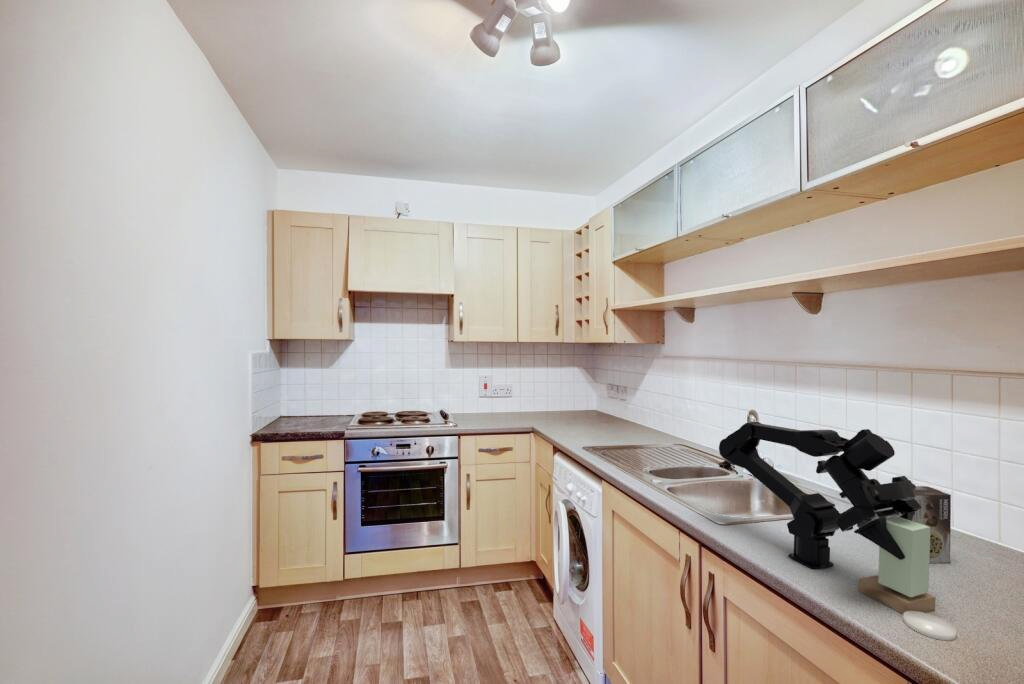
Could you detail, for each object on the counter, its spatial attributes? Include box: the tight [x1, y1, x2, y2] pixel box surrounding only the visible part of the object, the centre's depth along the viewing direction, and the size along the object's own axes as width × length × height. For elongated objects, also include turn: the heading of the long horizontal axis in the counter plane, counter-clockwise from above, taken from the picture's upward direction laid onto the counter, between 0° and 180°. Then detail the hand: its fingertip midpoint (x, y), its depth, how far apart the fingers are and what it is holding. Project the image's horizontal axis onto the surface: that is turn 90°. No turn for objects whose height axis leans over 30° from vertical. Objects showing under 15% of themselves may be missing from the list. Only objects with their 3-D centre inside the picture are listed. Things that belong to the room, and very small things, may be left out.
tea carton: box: [878, 516, 930, 597], centre depth 90 cm, size 6×6×12 cm
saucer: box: [902, 611, 957, 642], centre depth 82 cm, size 7×7×1 cm
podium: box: [857, 574, 936, 615], centre depth 91 cm, size 9×8×2 cm
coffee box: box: [909, 485, 952, 564], centre depth 110 cm, size 9×6×16 cm
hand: (912, 556), depth 88 cm, fingers closed on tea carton, 5 cm apart
